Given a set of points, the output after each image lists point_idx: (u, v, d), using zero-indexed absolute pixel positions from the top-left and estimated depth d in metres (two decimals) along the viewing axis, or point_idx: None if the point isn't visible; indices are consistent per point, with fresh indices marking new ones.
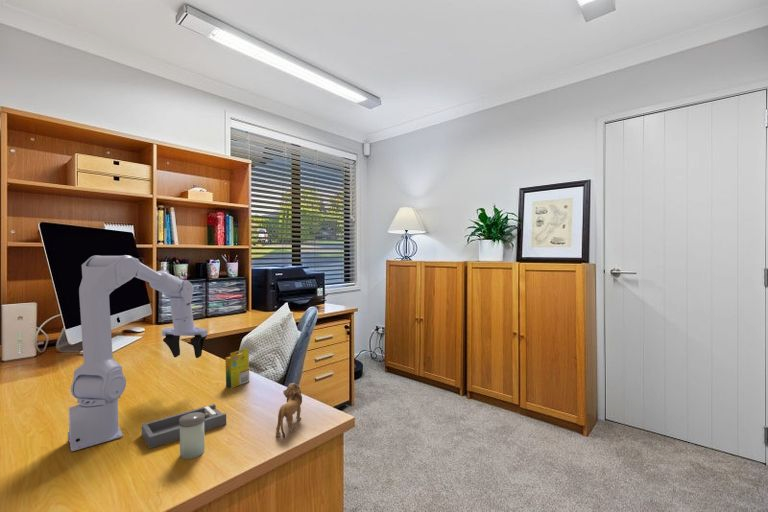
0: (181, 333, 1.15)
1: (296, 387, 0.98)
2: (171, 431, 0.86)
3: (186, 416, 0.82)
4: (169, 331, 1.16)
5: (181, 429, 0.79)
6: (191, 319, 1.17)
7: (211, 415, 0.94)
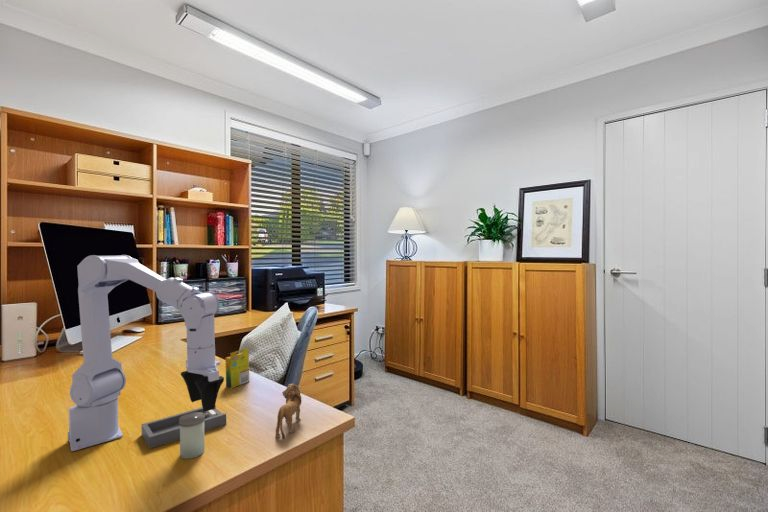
0: (189, 369, 0.81)
1: (295, 388, 0.97)
2: (171, 431, 0.86)
3: (186, 415, 0.82)
4: None
5: (181, 429, 0.79)
6: (206, 352, 0.82)
7: (211, 415, 0.94)
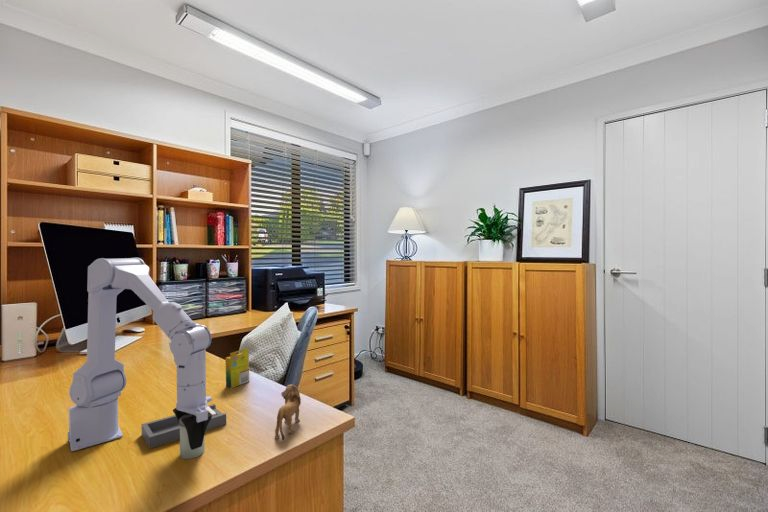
0: (179, 407, 0.78)
1: (294, 388, 0.97)
2: (171, 431, 0.86)
3: (186, 415, 0.81)
4: None
5: (181, 429, 0.79)
6: (196, 389, 0.79)
7: None
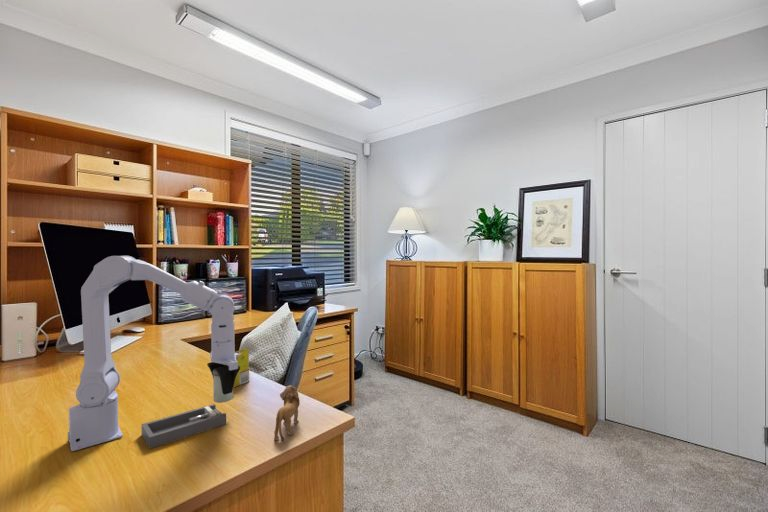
0: (213, 359, 0.96)
1: (293, 389, 0.96)
2: (171, 431, 0.86)
3: None
4: (211, 354, 1.00)
5: (215, 378, 0.96)
6: (227, 345, 0.96)
7: (211, 415, 0.94)
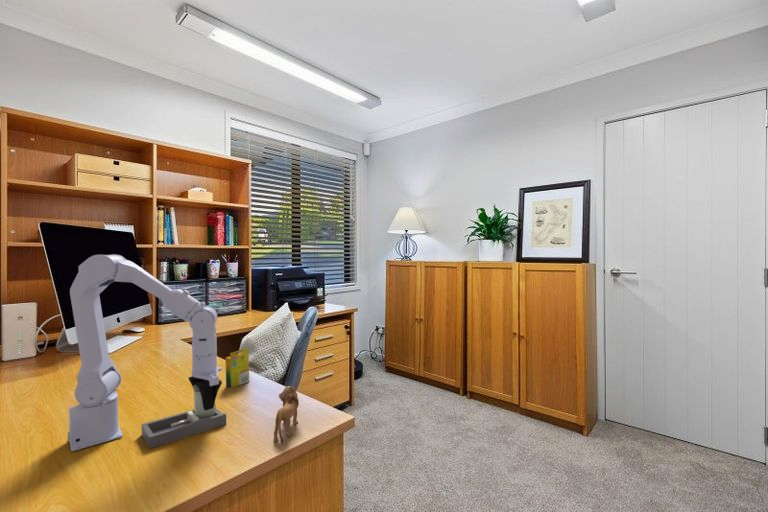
0: (194, 374, 0.92)
1: (292, 390, 0.95)
2: (171, 431, 0.86)
3: None
4: None
5: (196, 394, 0.93)
6: (209, 359, 0.93)
7: (193, 420, 0.91)
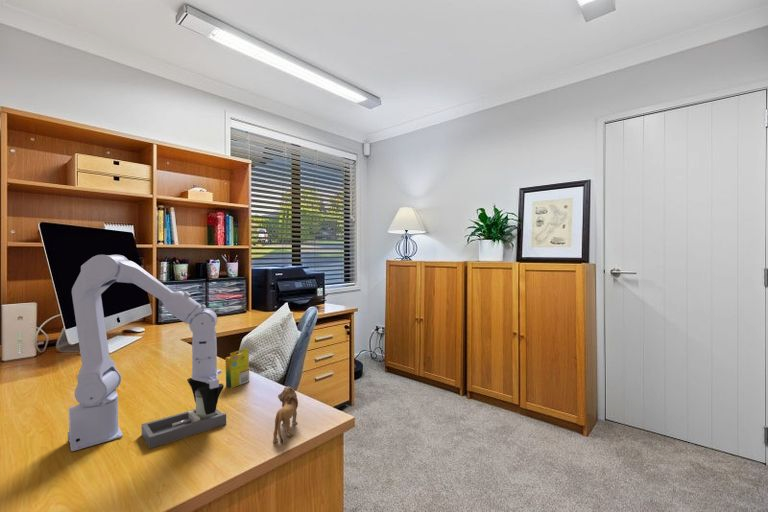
0: (194, 377, 0.92)
1: (292, 391, 0.95)
2: (171, 431, 0.86)
3: None
4: None
5: (197, 399, 0.93)
6: (209, 362, 0.93)
7: (195, 420, 0.91)
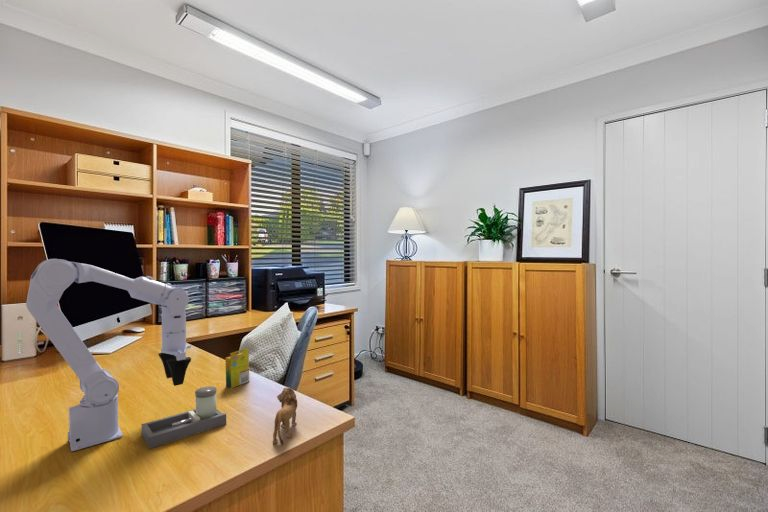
0: (163, 350, 0.97)
1: (291, 391, 0.95)
2: (171, 431, 0.86)
3: (200, 389, 0.96)
4: None
5: (197, 399, 0.93)
6: (177, 336, 0.98)
7: (195, 420, 0.91)
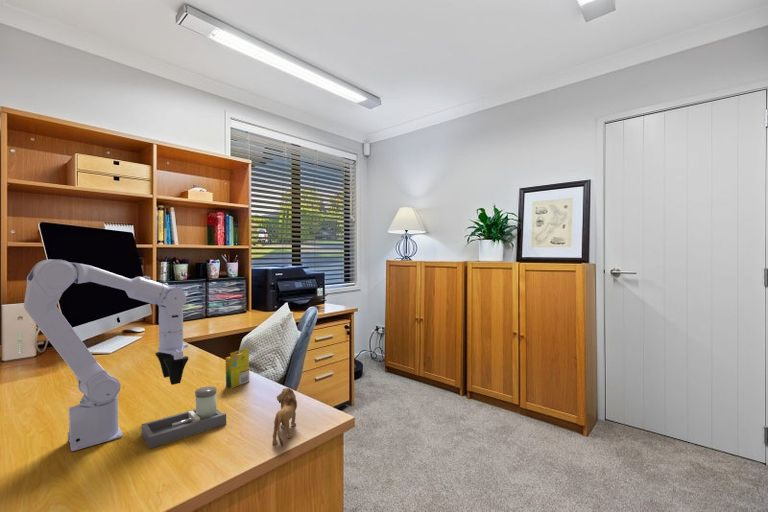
0: (160, 349, 0.98)
1: (290, 392, 0.94)
2: (171, 431, 0.86)
3: (200, 389, 0.96)
4: None
5: (197, 399, 0.93)
6: (174, 335, 0.98)
7: (195, 420, 0.91)
